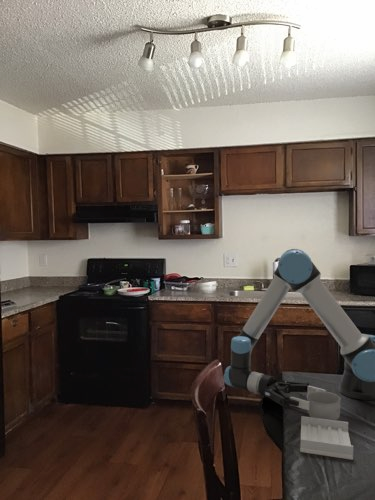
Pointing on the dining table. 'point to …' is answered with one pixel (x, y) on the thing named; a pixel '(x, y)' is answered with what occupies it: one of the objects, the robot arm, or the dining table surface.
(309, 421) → the drying rack
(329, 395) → the teacup
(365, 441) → the dining table surface
